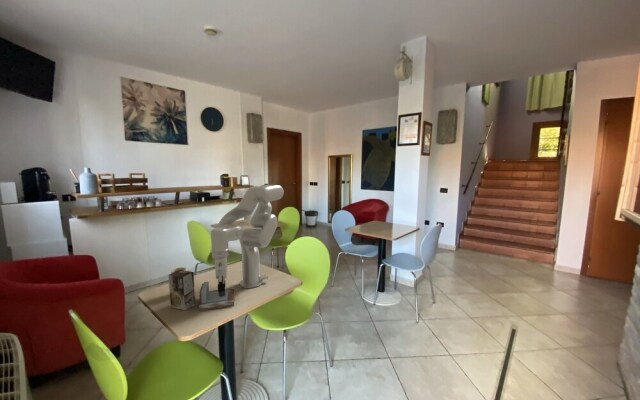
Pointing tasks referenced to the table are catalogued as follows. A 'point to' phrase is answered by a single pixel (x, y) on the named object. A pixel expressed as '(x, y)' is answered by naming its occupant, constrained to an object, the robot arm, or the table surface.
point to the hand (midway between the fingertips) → (221, 289)
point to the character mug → (178, 269)
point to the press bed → (220, 304)
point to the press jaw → (212, 294)
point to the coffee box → (182, 289)
